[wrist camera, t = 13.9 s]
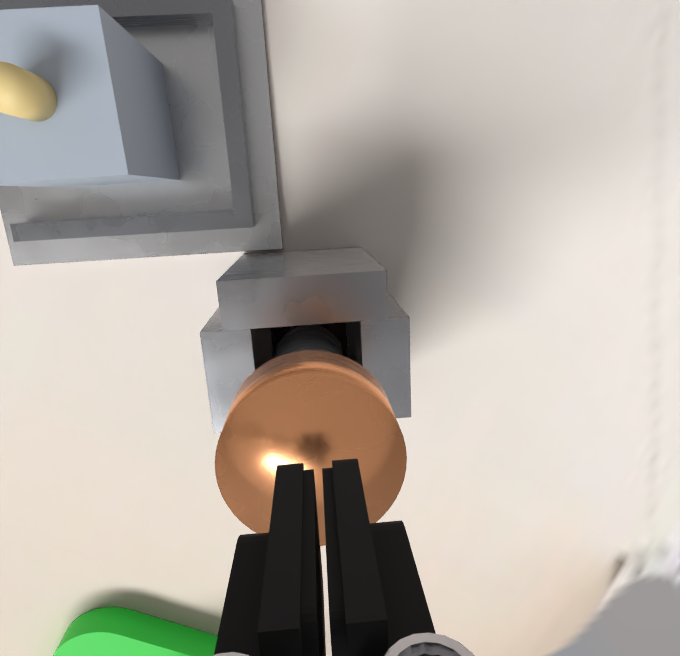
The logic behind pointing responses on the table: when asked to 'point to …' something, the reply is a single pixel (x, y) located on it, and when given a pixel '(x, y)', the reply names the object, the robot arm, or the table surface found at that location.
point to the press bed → (190, 145)
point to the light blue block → (80, 102)
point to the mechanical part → (132, 636)
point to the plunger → (308, 428)
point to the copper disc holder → (305, 319)
